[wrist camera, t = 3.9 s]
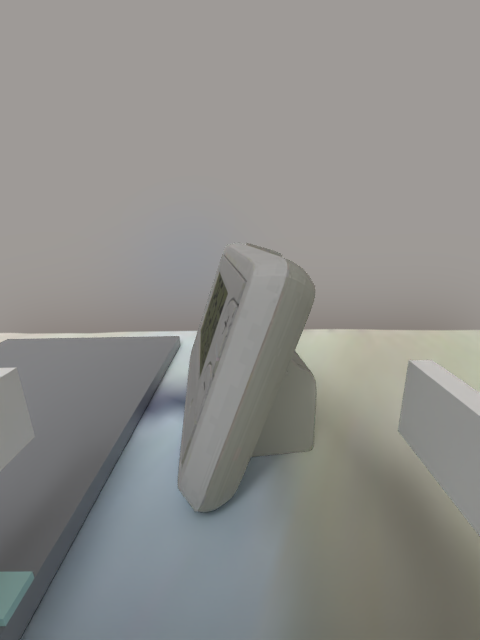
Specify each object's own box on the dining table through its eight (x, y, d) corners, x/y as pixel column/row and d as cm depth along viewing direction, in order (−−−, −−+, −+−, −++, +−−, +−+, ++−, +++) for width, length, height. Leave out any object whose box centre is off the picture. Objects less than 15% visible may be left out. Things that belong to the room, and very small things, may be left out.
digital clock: (196, 359, 28) (188, 242, 25) (294, 361, 27) (298, 240, 24) (109, 522, 12) (59, 264, 9) (331, 536, 12) (355, 260, 9)
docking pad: (180, 345, 31) (179, 333, 31) (4, 668, 8) (-9, 637, 8) (10, 348, 32) (7, 336, 31) (-616, 667, 9) (-655, 637, 8)
